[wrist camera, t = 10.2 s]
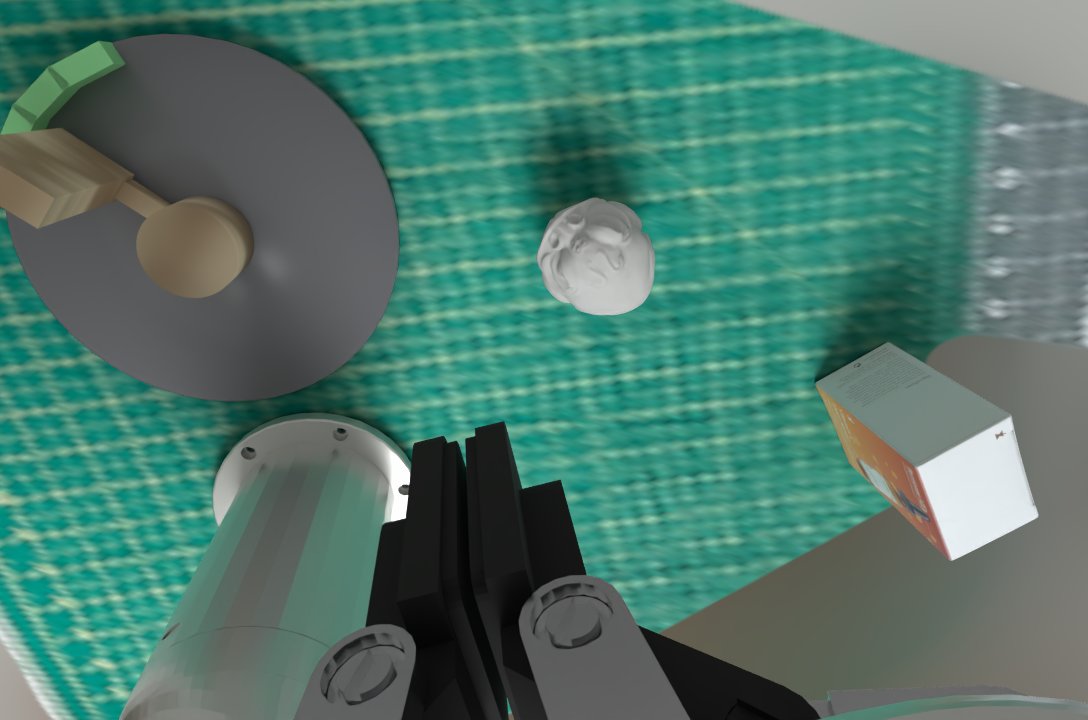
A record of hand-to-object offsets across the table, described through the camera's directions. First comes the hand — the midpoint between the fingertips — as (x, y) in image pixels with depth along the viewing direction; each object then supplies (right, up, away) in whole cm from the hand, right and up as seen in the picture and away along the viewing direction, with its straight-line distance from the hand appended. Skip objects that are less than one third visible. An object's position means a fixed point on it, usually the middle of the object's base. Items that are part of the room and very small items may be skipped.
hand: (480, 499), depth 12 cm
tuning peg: (-18, +10, +21) cm, 29 cm away
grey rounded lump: (+3, +9, +26) cm, 28 cm away
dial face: (-16, +9, +23) cm, 30 cm away
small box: (+23, 0, +33) cm, 40 cm away
